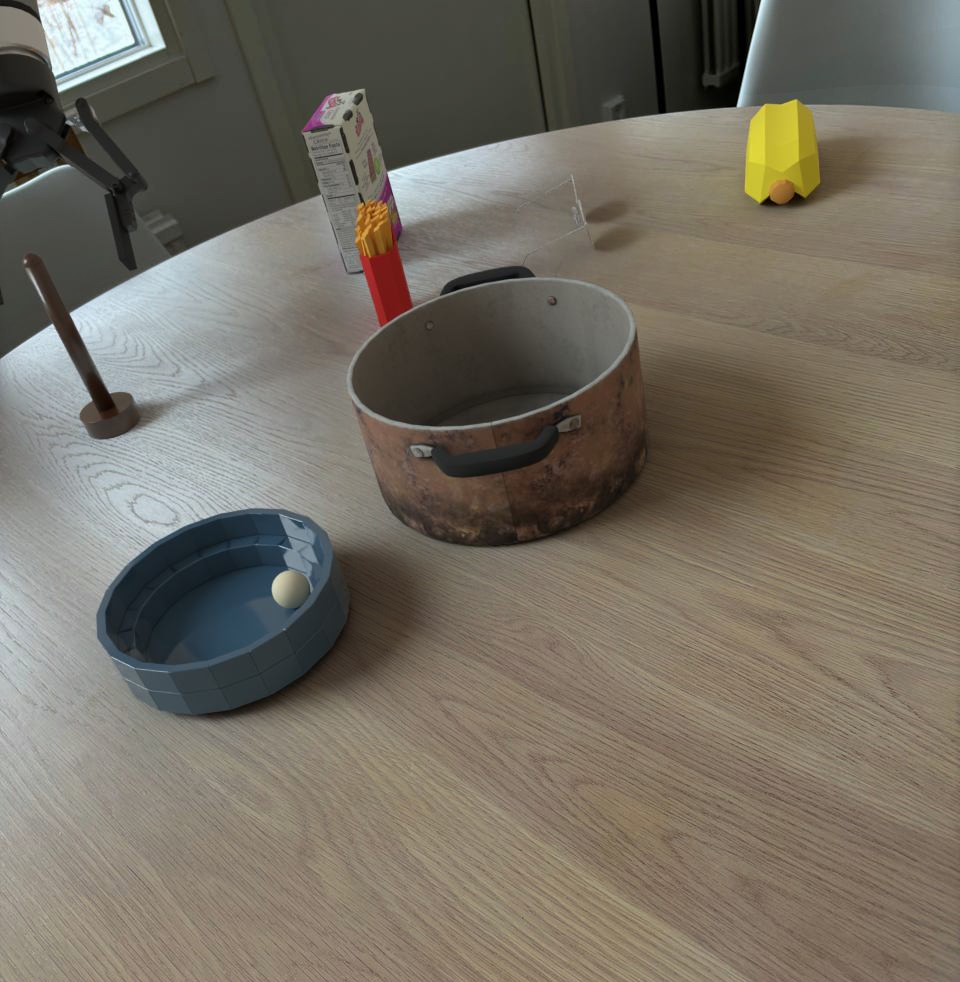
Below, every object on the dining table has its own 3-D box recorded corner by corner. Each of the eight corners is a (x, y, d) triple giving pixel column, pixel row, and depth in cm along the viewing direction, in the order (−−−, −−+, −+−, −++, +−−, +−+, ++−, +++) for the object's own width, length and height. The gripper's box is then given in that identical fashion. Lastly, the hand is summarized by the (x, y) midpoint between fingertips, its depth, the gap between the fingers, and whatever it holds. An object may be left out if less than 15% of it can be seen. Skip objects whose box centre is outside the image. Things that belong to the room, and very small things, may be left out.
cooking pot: (676, 553, 74) (663, 424, 67) (372, 604, 77) (328, 485, 70) (627, 350, 96) (613, 236, 89) (392, 395, 99) (360, 289, 92)
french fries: (378, 309, 113) (346, 199, 105) (413, 300, 113) (384, 189, 105) (382, 345, 107) (349, 230, 99) (420, 335, 107) (389, 220, 99)
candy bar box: (365, 235, 130) (325, 94, 119) (404, 229, 128) (367, 86, 117) (343, 276, 122) (298, 129, 111) (384, 271, 120) (342, 121, 109)
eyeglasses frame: (597, 258, 111) (584, 213, 108) (523, 286, 113) (507, 243, 110) (583, 209, 122) (570, 167, 118) (515, 235, 123) (500, 195, 120)
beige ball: (282, 621, 77) (269, 592, 75) (276, 599, 79) (263, 570, 77) (318, 608, 77) (306, 579, 75) (311, 586, 79) (299, 557, 77)
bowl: (132, 756, 71) (99, 706, 67) (121, 605, 84) (93, 557, 80) (375, 666, 72) (355, 613, 69) (328, 531, 85) (308, 481, 82)
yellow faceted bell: (744, 218, 111) (820, 208, 109) (742, 153, 107) (821, 142, 105) (747, 153, 124) (815, 144, 122) (745, 93, 119) (816, 82, 117)
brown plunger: (88, 445, 104) (-4, 274, 92) (87, 420, 108) (-1, 252, 96) (142, 427, 105) (57, 254, 93) (139, 402, 109) (58, 233, 97)
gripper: (150, 63, 105) (197, 265, 104) (-86, 127, 106) (-42, 328, 105) (120, 16, 98) (171, 232, 97) (-133, 85, 99) (-86, 301, 98)
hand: (60, 283), depth 101 cm, fingers open, 13 cm apart
